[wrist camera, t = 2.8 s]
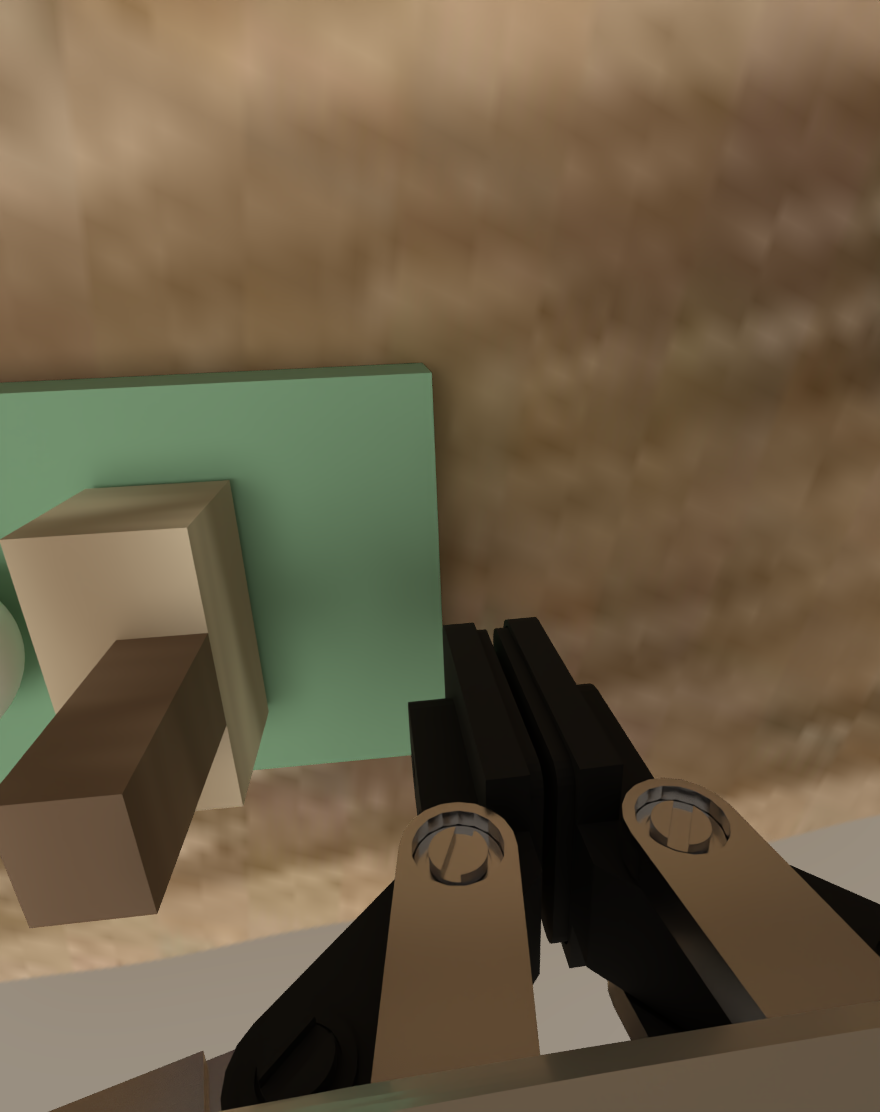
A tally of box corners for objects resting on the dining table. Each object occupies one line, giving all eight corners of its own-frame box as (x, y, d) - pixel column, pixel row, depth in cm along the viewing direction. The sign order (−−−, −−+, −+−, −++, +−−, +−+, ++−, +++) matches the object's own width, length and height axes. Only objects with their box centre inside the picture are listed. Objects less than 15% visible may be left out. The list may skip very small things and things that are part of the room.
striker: (229, 480, 13) (78, 646, 7) (268, 712, 15) (186, 1013, 9) (85, 488, 13) (-223, 671, 6) (146, 722, 15) (-34, 1041, 9)
